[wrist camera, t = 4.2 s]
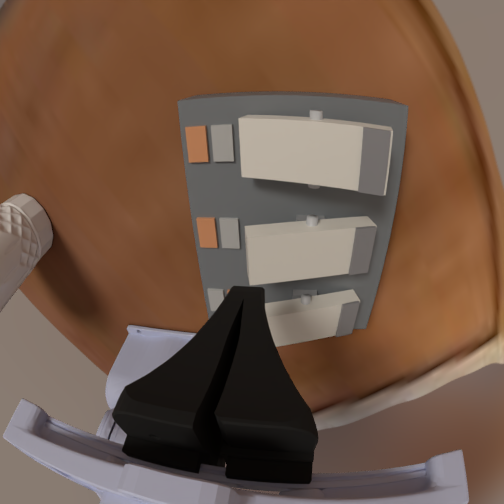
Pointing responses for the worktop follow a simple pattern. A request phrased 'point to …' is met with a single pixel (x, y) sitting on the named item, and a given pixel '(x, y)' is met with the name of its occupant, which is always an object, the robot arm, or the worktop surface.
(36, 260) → the white cup
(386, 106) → the switch box
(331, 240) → the middle rocker
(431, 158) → the worktop surface
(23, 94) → the worktop surface
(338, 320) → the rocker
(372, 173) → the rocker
